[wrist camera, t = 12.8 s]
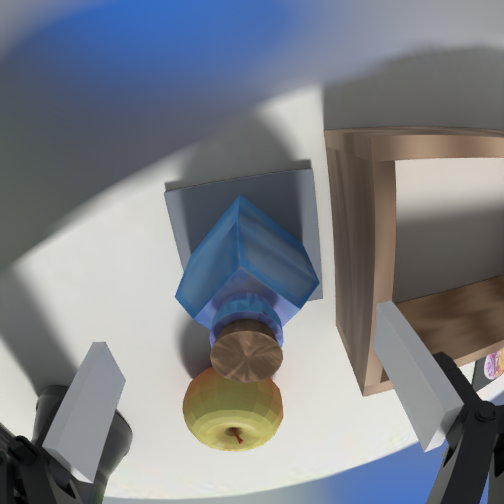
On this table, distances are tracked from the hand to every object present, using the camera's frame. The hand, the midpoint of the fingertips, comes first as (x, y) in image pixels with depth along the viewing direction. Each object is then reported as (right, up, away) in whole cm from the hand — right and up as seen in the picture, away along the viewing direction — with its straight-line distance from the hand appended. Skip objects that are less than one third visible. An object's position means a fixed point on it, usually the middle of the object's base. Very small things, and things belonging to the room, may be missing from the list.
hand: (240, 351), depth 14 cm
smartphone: (+35, -10, +19) cm, 41 cm away
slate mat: (0, +5, +11) cm, 12 cm away
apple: (-1, -9, +17) cm, 19 cm away
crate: (+19, +7, +10) cm, 23 cm away
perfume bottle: (0, +5, +10) cm, 11 cm away
